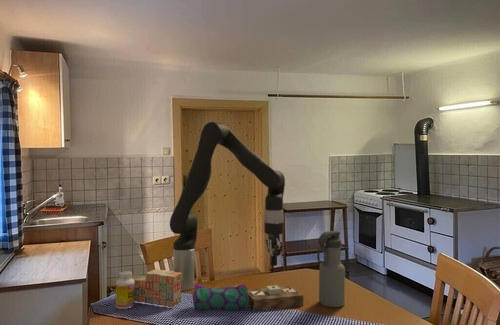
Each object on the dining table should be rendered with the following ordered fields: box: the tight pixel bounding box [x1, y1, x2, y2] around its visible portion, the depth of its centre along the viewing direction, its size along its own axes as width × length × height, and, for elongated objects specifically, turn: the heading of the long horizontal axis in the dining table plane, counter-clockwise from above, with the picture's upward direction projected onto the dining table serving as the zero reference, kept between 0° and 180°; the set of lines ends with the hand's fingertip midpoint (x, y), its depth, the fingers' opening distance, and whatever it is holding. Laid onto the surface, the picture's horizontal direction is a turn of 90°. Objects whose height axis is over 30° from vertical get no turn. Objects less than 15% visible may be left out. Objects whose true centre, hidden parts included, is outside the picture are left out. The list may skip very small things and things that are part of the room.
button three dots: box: [251, 291, 265, 297], centre depth 146 cm, size 4×4×3 cm
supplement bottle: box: [115, 270, 135, 310], centre depth 142 cm, size 7×7×13 cm
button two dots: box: [282, 288, 296, 294], centre depth 150 cm, size 4×4×3 cm
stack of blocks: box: [131, 269, 182, 307], centre depth 147 cm, size 21×6×12 cm, turn 71°
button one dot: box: [265, 284, 281, 295], centre depth 148 cm, size 4×4×3 cm
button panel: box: [247, 285, 304, 311], centre depth 148 cm, size 20×12×4 cm, turn 107°
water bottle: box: [316, 230, 346, 309], centre depth 148 cm, size 10×10×28 cm
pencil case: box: [192, 282, 250, 311], centre depth 141 cm, size 21×9×10 cm, turn 95°
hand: (273, 265), depth 148 cm, fingers closed
